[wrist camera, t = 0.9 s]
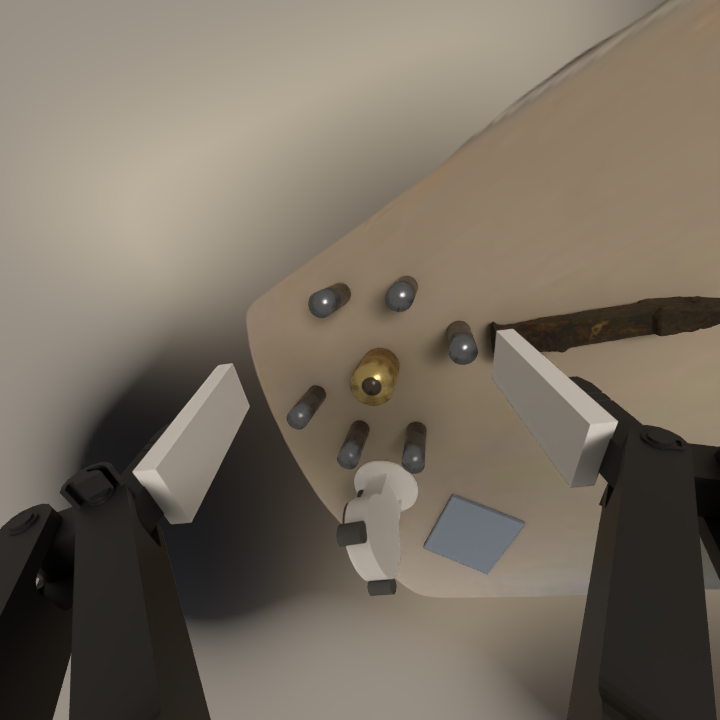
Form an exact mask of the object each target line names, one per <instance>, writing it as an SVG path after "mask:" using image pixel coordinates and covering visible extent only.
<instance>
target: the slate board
mask: <svg viewBox="0 0 720 720" xmlns="http://www.w3.org/2000/svg"><path fill="white" fill-rule="evenodd" d="M524 525H525V523H524V521H521V520H519V519H516V518H514V517H511V516H509V515H506V514H503V513H501V512H498V511H496V510H493V509H490V508H488V507H485V506H483V505H480V504H477V503H475V502H472V501H470V500H467V499H464V498H462V497H459V496H457V495H454V494H452V495H451V497H450V499H449V501H448V503H447V504H446V506H445V508H444V510H443V512H442V513H441V515H440V517H439V519H438V521H437V522H436V524H435V526H434V528H433V530H432V531H431V533H430V535H429V537H428V539H427V540H426V542H425V544H424V549H427V550H429V551H432V552H434V553H437V554H439V555H441V556H444V557H446V558H449V559H451V560H454V561H456V562H459V563H461V564H463V565H466V566H468V567H471V568H473V569H476V570H478V571H480V572H483V573H485V574H488V573H489V572H490V571H491V569H492V568H493V567H494V565H495V564H496V563H497V561H498V560H499V559H500V557H501V556H502V555H503V553H504V552H505V551H506V549H507V548H508V547H509V545H510V544H511V543H512V541H513V540H514V539H515V537H516V536H517V535H518V533H519V532H520V531H521V529H522V528H523V527H524Z"/></svg>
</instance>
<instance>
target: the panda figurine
mask: <svg viewBox="0 0 720 720" xmlns="http://www.w3.org/2000/svg"><path fill="white" fill-rule="evenodd" d="M354 486H355V489H356V492H357V494H358V498H354V499H352V500H351V501H349V503H347V504H346V506H345V509H344V513H343V524H340V525H339V526H338V528H337V542H338V544H339V546H346V548H347V552H348V555H349V557H350V560H351V562H352V564H353V566H354V568H355V569H356V571H357V572H358V574H359V575H360V576H361V577H362V578H363V579H364V580H366V581H369V582H368V592H369V594H370V595H371V596H375V595H390V594H395V592H396V581H395V580H394V578H395V577H396V574H397V572H398V569H399V565H400V558H401V544H400V536H399V531H398V529H399V521H400V514H401V511H404V510H406V509H408V508H410V507H411V506H412V505H413V504H414V503H415V501H416V499H417V497H418V485H417V482H416V480H415V478H414V477H413V475H412V474H411V473H410V472H407V471H406V470H405V469H404V468H403V467H402V466H401V465H399V464H396V463H394V462H390V461H385V460H376V461H371V462H368V463H366V464H364V465H362V466H361V467H360V468H359V469H358V471H357V473H356V475H355V478H354Z"/></svg>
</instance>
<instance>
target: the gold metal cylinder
mask: <svg viewBox="0 0 720 720" xmlns="http://www.w3.org/2000/svg"><path fill="white" fill-rule="evenodd" d="M399 369H400V365H399V361H398V358H397V357H396V355H395V354H394V353H393V352H391V351H389V350H387V349H384V348H376V349H373V350H371V351H369V352H368V353H367V354H366V355H365V357H364V358H363V360H362V361H361V363H360V365H359V366H358V368H357V369H356V371H355V373H354V374H353V376H352V378H351V390H352V392H353V394H354V396H355V397H356V398H357V399H358V400H359V401H361V402H362V403H364V404H367V405H371V406H377V405H381V404H384V403H385V402H387V401H388V400H389V399H390V397H391V396H392V393H393V390H394V386H395V383H396V380H397V376H398V373H399Z"/></svg>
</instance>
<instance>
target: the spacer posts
mask: <svg viewBox="0 0 720 720" xmlns="http://www.w3.org/2000/svg"><path fill="white" fill-rule="evenodd" d="M417 290H418V285H417V282H416V280H415V279H414V278H412V277H410V276H403V277H401V278H399V279H398V280H397V281H396V282H395V283H394V284H393V285H392V286H391V287H390V288H389V290H388V291H387V293H386V303H387V305H388V307H389V308H390V309H392V310H393V311H396V312H403V311H406V310H407V309H409V308H410V306H411V305H412V303H413V300H414V298H415V295H416V293H417ZM350 297H351V292H350V289H349V287H348V286H347V285H345V284H343V283H337V284H334V285H332V286H330V287H327V288H325V289H323V290H321V291H318V292H316V293H314V294H312V295H311V297H310V298H309V302H308V305H309V309H310V311H311V312H312V314H313V315H315V316H317V317H320V318H324V317H327V316H328V315H330V314H331V313H333V312H334V311H336V310H337V309H338V308H340V307H341V306H343V305H344V304H346V303H347V302H348V301H349V300H350ZM447 337H448V347H449V355H450V358H451V359H452V360H453V361H454V362H455V363H457V364H461V365H465V364H469V363H471V362H472V361H474V360H475V358H476V357H477V354H478V349H477V346H476V343H475V340H474V338H473V335H472V332H471V329H470V327H469V325H468V324H467V323H465V322H463V321H455V322H453V323H451V324H450V325H449V327H448V329H447ZM325 397H326V393H325V390H324V389H323V388H322V387H320V386H316V385H315V386H312V387H311V388H310V389H309V390H308V391H307V392H306V393H305V395H304V396H303V397H302V398H301V399H300V400H299V402H298V403H297V404H296V405H295V406H294V407H293V409H292V410H291V411H290V412H289V413H288V415H287V422H288V424H289V425H290V426H291V427H293V428H295V429H303V428H304V427H305V426H306V425H307V423H308V422H309V421H310V419H311V418H312V416H313V415H314V413H315V412H316V411H317V409H318V408H319V406H320V405H321V404H322V402H323V401H324V399H325ZM368 433H369V426H368V425H367V424H366V423H365V422H363V421H355V422H354V423H353V424H352V426H351V428H350V431H349V433H348V435H347V437H346V439H345V442H344V444H343V446H342V448H341V450H340V452H339V455H338V457H337V460H338V463H339V464H340V465H341V466H342V467H343V468H346V469H353V468H355V467H356V466H357V464H358V461H359V458H360V456H361V453H362V450H363V447H364V444H365V441H366V439H367V436H368ZM425 446H426V427H425V426H424V425H423V424H422V423H420V422H412V423H410V424H409V425H408V427H407V432H406V439H405V445H404V451H403V457H402V466H403V468H404V469H405V470H406V471H407V472H410V473H419V472H421V471H422V470H423V469H424V464H425Z"/></svg>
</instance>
